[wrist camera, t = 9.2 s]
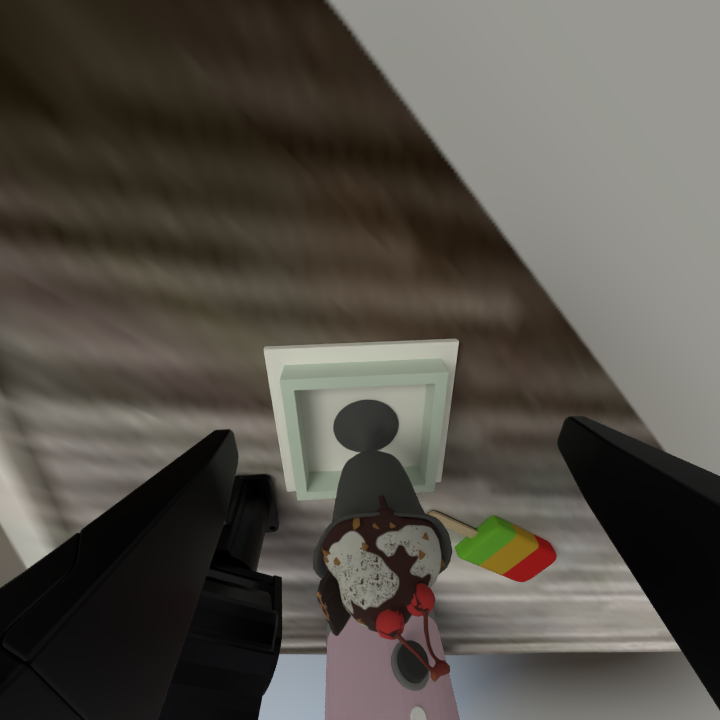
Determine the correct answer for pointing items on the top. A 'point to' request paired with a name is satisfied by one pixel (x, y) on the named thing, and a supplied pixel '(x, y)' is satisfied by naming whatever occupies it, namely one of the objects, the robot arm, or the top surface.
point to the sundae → (378, 537)
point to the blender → (386, 675)
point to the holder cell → (354, 383)
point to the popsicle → (502, 547)
